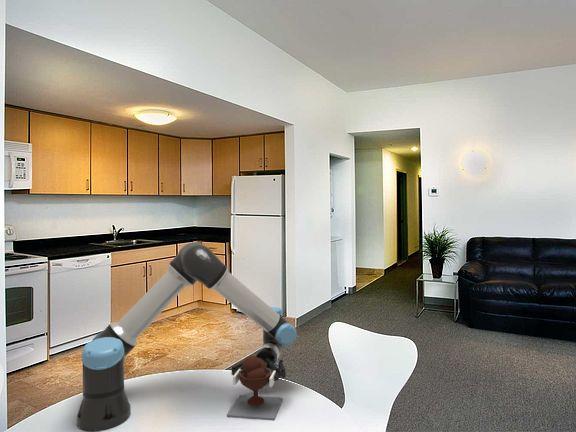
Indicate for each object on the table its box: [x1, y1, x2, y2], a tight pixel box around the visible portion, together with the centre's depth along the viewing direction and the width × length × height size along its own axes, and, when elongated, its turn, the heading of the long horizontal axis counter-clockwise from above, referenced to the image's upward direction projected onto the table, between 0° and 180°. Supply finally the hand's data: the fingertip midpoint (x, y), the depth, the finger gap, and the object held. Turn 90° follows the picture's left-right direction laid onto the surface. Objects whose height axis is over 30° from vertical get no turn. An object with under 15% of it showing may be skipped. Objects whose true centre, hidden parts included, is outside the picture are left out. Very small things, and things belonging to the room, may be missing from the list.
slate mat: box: [226, 394, 284, 421], centre depth 130 cm, size 15×14×1 cm
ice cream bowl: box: [239, 355, 272, 406], centre depth 130 cm, size 11×11×15 cm
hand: (252, 382), depth 126 cm, fingers closed on ice cream bowl, 11 cm apart
